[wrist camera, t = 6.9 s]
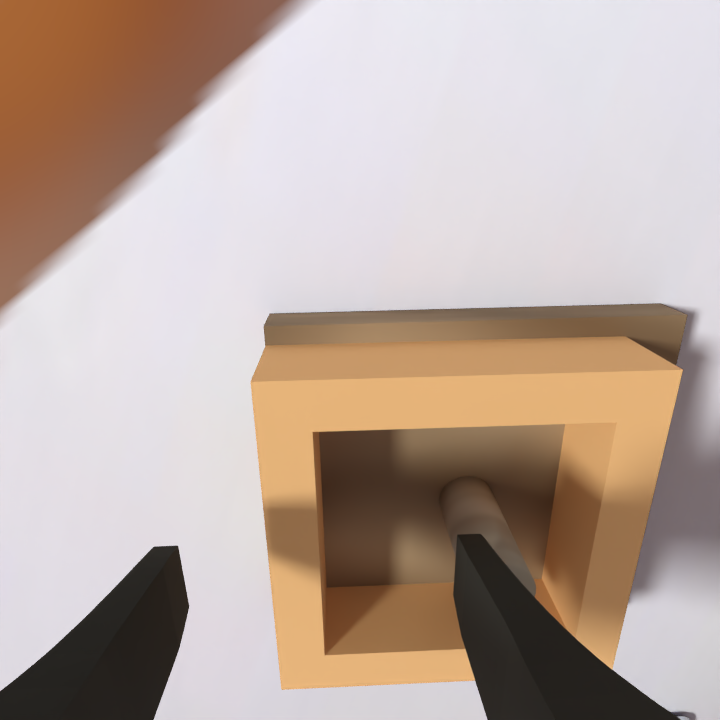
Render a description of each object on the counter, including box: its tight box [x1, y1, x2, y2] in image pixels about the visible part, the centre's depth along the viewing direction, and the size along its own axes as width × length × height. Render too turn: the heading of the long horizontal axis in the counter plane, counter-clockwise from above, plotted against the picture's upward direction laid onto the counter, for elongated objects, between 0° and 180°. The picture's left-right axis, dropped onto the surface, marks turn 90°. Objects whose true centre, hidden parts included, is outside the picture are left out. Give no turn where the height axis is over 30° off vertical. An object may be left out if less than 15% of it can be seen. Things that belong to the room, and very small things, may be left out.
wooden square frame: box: [251, 336, 683, 690], centre depth 17 cm, size 12×12×3 cm
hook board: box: [264, 304, 687, 597], centre depth 17 cm, size 14×14×6 cm
